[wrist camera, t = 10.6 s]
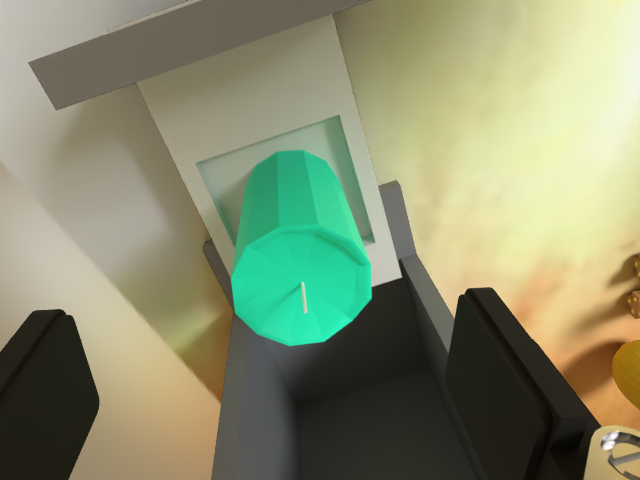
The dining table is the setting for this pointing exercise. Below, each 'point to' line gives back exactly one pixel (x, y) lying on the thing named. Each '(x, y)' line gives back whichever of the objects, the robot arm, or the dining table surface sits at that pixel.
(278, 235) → the candle
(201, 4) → the tray
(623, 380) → the lemon
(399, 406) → the housing
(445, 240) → the dining table surface
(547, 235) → the dining table surface
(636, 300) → the cat figure
